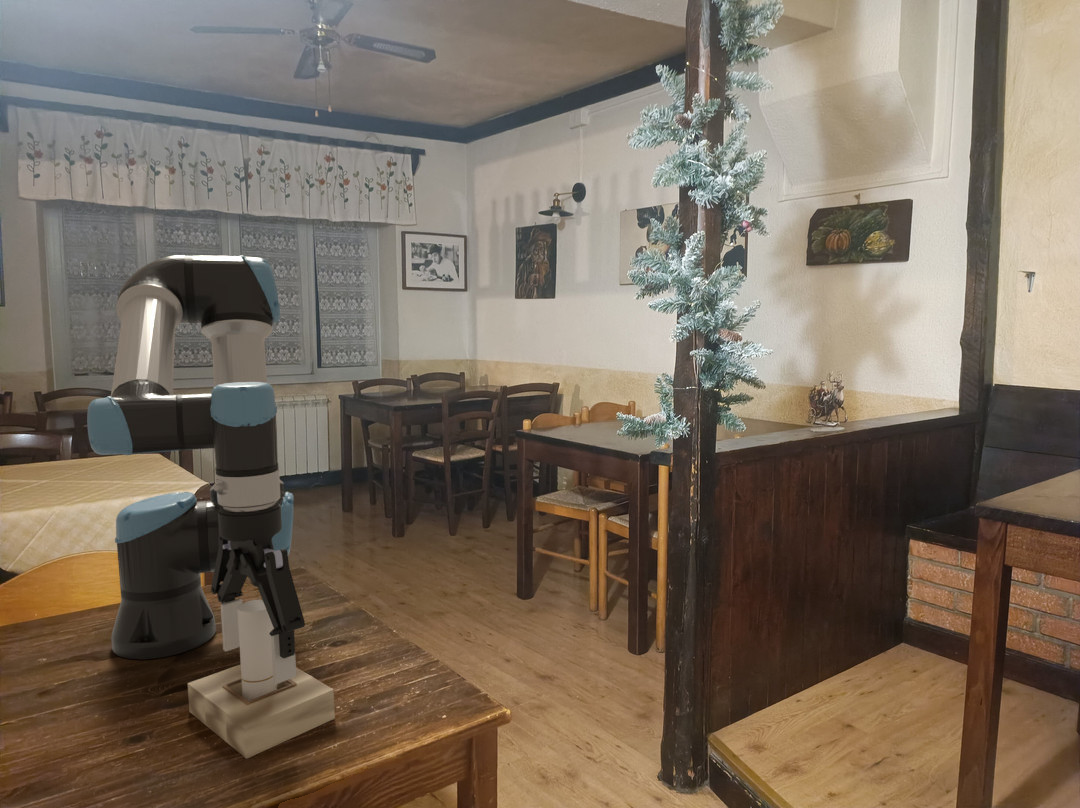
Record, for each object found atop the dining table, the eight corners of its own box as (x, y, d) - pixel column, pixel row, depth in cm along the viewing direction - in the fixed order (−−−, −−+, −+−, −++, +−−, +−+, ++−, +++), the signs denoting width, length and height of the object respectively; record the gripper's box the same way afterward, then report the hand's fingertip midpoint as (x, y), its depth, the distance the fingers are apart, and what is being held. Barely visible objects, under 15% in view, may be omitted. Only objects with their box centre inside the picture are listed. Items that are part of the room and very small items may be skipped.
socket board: (189, 711, 101) (187, 681, 100) (273, 679, 110) (272, 651, 109) (246, 758, 90) (244, 725, 89) (334, 718, 99) (333, 687, 98)
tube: (266, 725, 97) (261, 613, 96) (236, 721, 98) (230, 610, 96) (284, 708, 102) (279, 600, 100) (255, 705, 102) (249, 598, 101)
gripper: (178, 494, 102) (188, 644, 105) (270, 528, 85) (279, 706, 88) (232, 484, 107) (241, 627, 110) (329, 515, 91) (336, 683, 93)
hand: (258, 663), depth 99 cm, fingers open, 13 cm apart
